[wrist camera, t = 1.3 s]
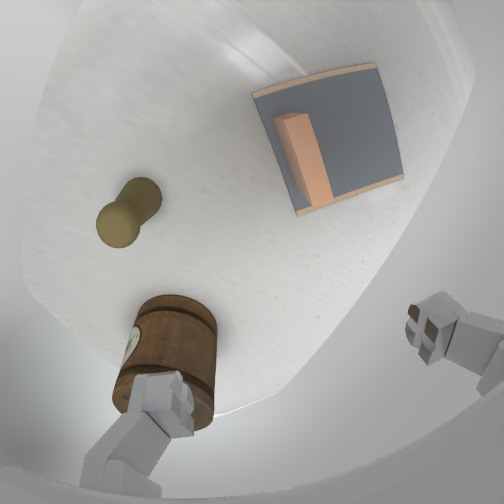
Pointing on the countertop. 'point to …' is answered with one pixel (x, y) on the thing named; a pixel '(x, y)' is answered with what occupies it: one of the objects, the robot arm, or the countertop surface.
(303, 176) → the tile
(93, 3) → the countertop surface
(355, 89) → the mat
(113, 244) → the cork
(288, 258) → the countertop surface
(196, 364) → the wooden container
